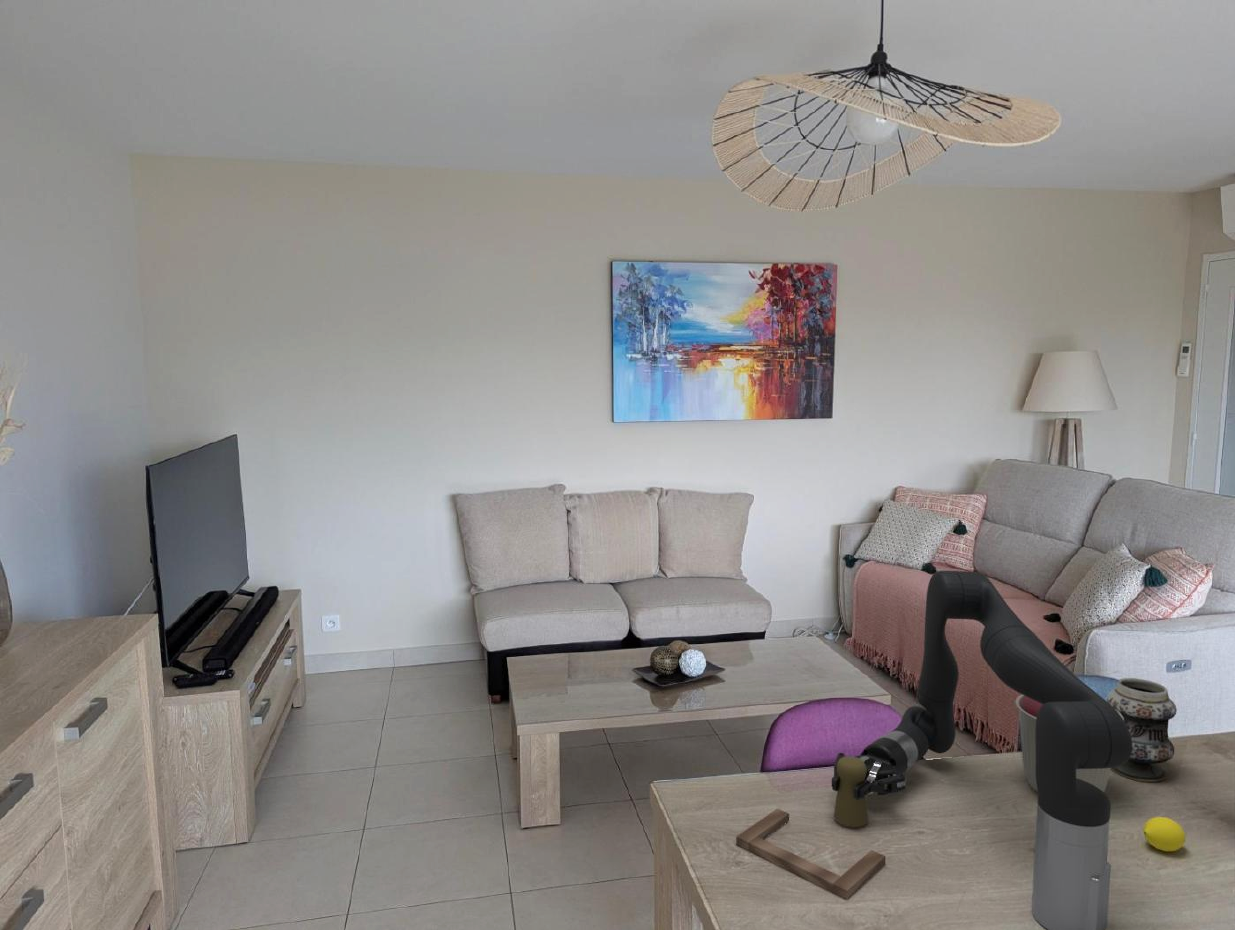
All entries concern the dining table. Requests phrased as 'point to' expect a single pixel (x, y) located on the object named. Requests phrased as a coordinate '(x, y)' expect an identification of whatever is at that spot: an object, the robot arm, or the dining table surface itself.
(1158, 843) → the lemon
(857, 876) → the walnut cradle
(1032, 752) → the canister
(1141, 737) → the apothecary jar
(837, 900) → the dining table surface
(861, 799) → the cork
